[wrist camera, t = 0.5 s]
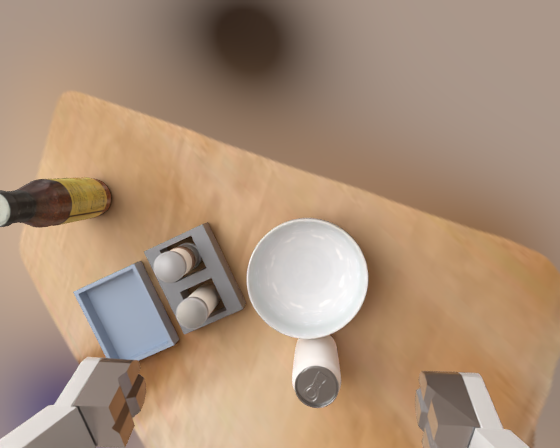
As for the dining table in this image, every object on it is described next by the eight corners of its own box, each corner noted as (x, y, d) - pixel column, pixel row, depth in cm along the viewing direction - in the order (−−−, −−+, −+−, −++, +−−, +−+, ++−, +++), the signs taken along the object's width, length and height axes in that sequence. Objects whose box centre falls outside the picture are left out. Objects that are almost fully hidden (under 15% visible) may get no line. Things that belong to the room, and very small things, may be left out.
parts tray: (179, 339, 65) (173, 345, 62) (120, 364, 66) (113, 371, 63) (141, 260, 64) (133, 263, 61) (82, 287, 65) (73, 292, 63)
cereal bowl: (295, 192, 61) (292, 194, 54) (385, 256, 61) (394, 265, 54) (232, 281, 63) (222, 294, 56) (319, 343, 63) (320, 363, 56)
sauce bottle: (90, 169, 63) (-11, 163, 43) (121, 195, 63) (33, 201, 43) (66, 201, 64) (-44, 209, 44) (96, 226, 64) (-1, 246, 44)
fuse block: (246, 303, 63) (235, 323, 54) (190, 327, 64) (170, 350, 55) (207, 222, 62) (189, 228, 53) (151, 248, 63) (125, 259, 55)
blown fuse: (206, 262, 63) (189, 275, 54) (183, 272, 63) (161, 287, 55) (195, 238, 63) (175, 247, 54) (171, 249, 63) (148, 259, 54)
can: (287, 354, 63) (281, 393, 51) (309, 320, 62) (308, 353, 51) (322, 375, 63) (324, 420, 51) (345, 342, 62) (352, 380, 50)
